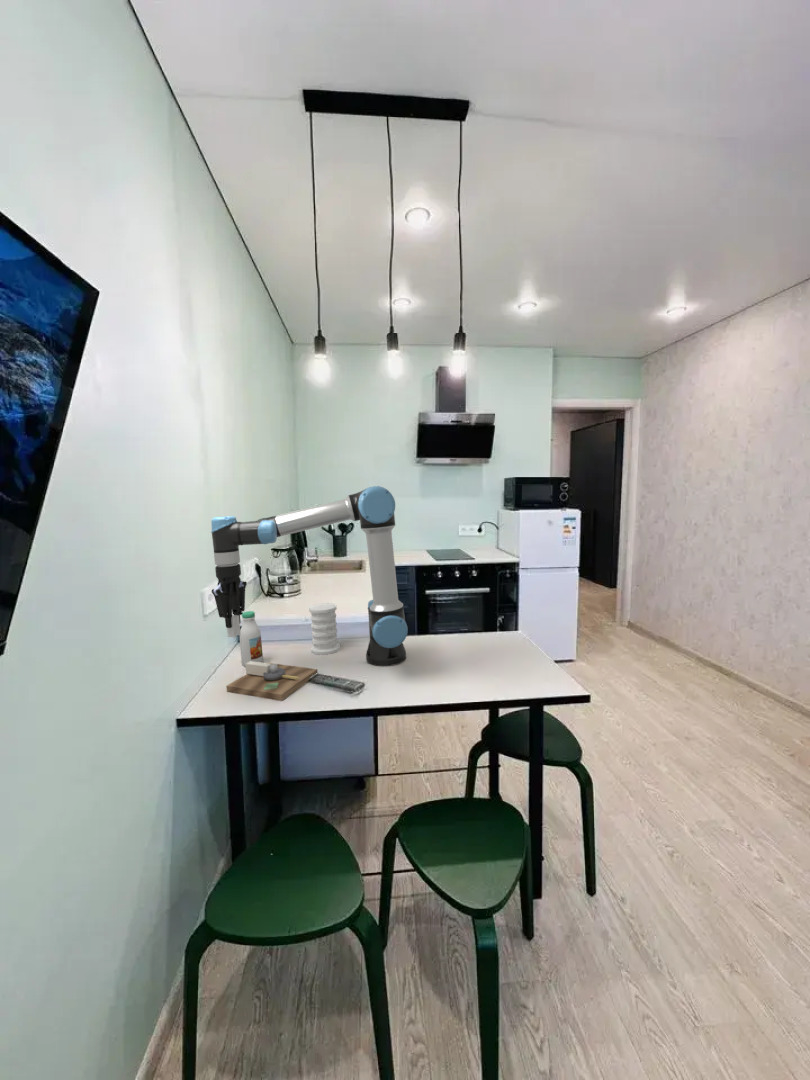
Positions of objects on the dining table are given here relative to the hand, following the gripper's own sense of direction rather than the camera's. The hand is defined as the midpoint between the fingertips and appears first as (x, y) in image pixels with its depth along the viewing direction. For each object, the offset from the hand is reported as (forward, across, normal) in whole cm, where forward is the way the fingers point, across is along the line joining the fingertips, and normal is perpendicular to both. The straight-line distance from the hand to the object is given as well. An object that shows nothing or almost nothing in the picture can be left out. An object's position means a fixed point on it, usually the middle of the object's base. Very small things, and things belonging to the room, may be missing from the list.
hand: (234, 635), depth 142 cm
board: (+18, -8, +8) cm, 21 cm away
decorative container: (+19, -40, +9) cm, 45 cm away
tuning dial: (+16, -8, +9) cm, 20 cm away
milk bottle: (+19, -20, -11) cm, 29 cm away
